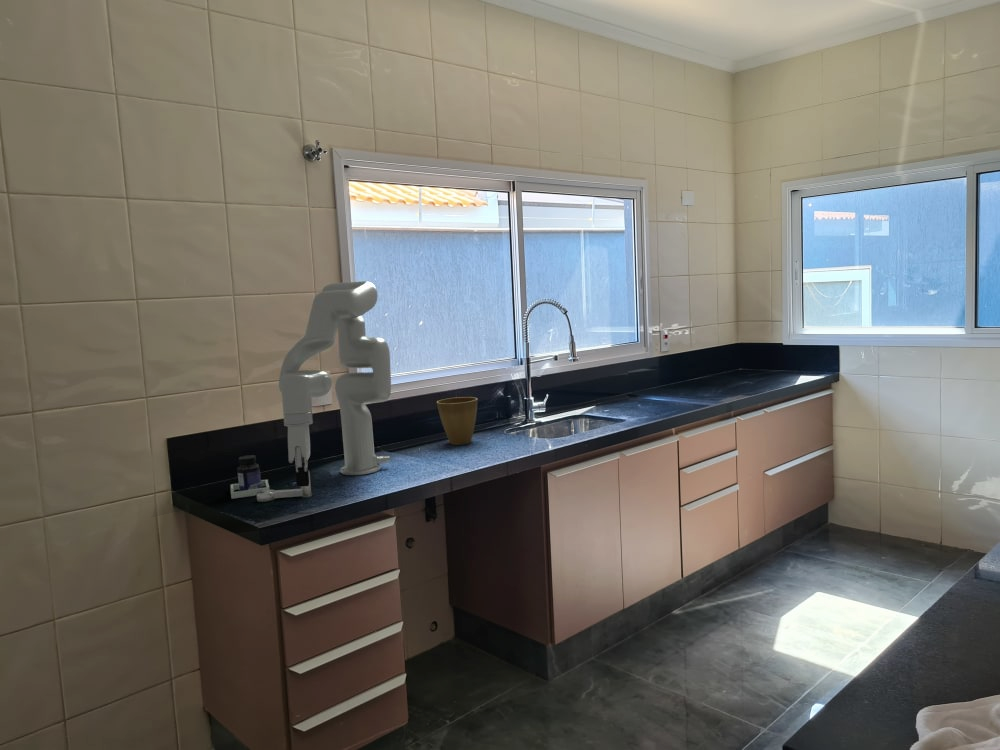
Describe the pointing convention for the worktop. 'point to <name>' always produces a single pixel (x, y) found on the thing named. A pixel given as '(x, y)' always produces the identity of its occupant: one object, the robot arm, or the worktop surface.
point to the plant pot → (458, 418)
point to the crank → (284, 493)
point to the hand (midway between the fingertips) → (303, 485)
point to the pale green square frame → (247, 492)
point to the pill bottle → (248, 473)
